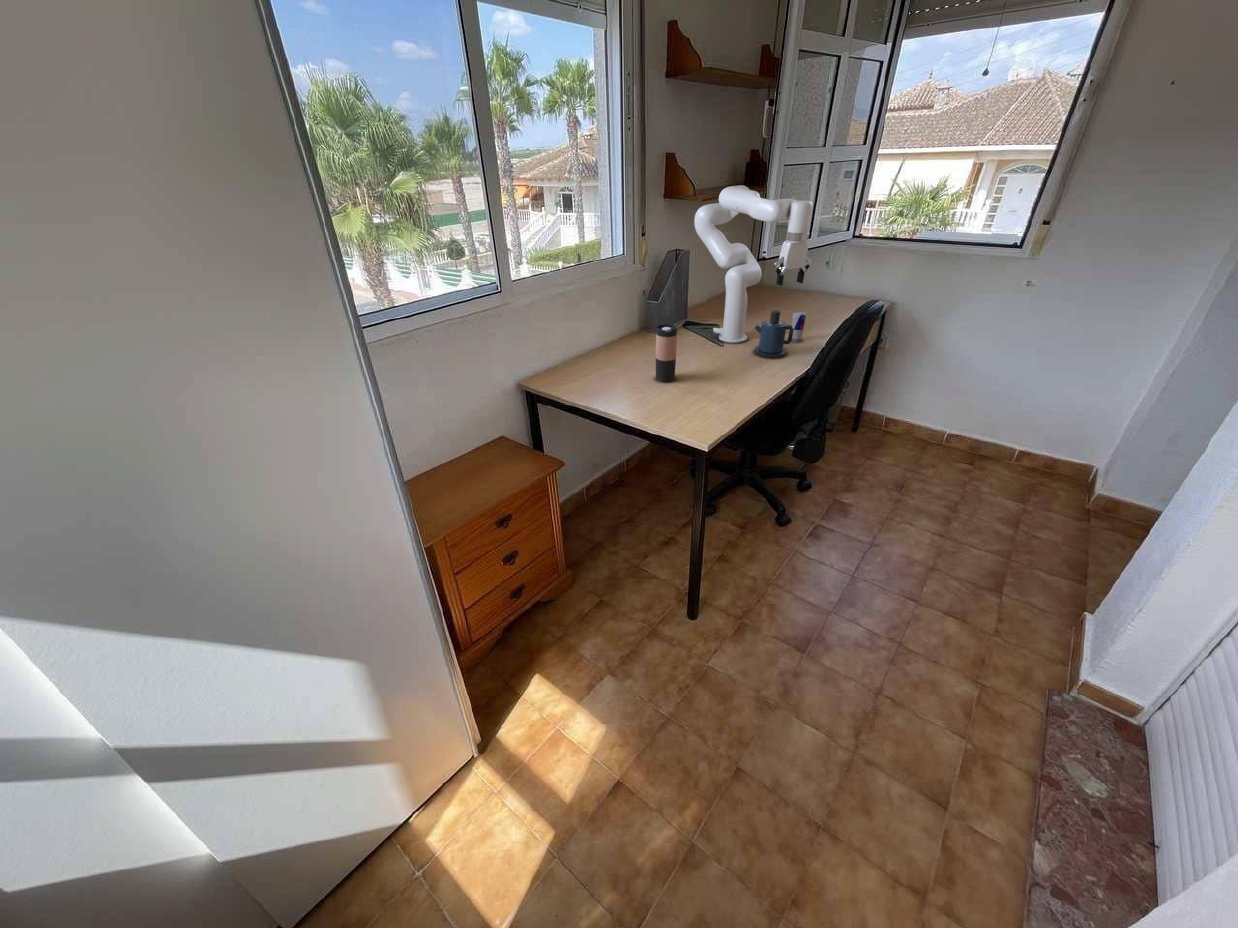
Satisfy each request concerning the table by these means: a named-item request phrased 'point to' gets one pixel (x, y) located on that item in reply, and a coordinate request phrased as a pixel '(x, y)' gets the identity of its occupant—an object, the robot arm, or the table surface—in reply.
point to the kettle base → (769, 355)
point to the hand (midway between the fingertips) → (789, 283)
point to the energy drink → (798, 326)
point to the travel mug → (666, 352)
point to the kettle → (773, 334)
